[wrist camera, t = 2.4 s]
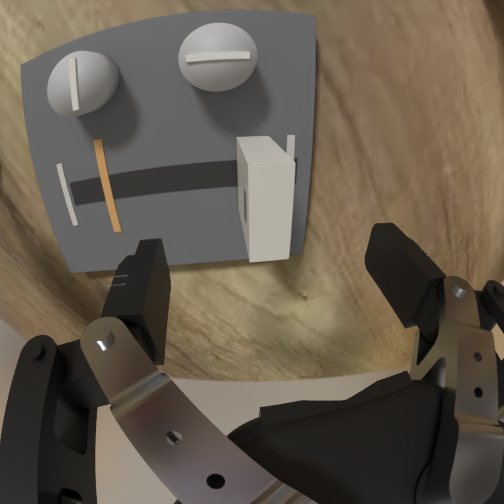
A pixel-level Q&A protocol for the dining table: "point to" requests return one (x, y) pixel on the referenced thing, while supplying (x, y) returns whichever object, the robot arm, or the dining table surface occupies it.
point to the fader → (265, 197)
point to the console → (167, 131)
